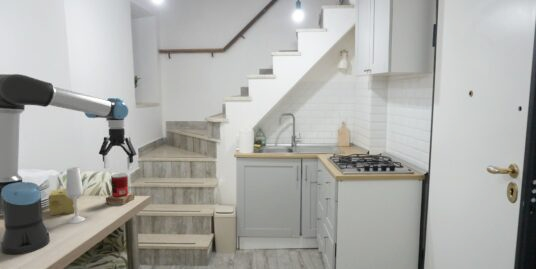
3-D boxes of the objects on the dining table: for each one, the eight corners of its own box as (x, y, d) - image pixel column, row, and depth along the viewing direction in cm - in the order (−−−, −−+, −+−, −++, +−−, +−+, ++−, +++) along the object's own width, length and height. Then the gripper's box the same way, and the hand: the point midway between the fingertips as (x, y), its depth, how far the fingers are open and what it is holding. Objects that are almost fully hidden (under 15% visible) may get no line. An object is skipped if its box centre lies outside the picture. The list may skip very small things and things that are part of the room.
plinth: (123, 204, 176) (123, 198, 176) (106, 203, 178) (105, 197, 178) (134, 198, 186) (134, 193, 186) (118, 197, 188) (117, 191, 188)
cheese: (74, 213, 165) (73, 193, 163) (48, 216, 161) (46, 195, 159) (77, 206, 174) (76, 187, 173) (53, 209, 170) (51, 189, 169)
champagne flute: (65, 221, 154) (60, 169, 151) (78, 216, 160) (75, 166, 157) (74, 223, 151) (70, 170, 148) (88, 218, 157) (85, 167, 154)
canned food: (130, 193, 185) (129, 173, 184) (123, 197, 178) (122, 177, 176) (117, 192, 186) (116, 172, 185) (109, 197, 178) (108, 176, 177)
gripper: (142, 128, 179) (143, 168, 181) (100, 126, 183) (101, 165, 186) (134, 129, 171) (135, 171, 174) (90, 128, 176) (92, 168, 178)
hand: (118, 168), depth 180 cm, fingers open, 13 cm apart
